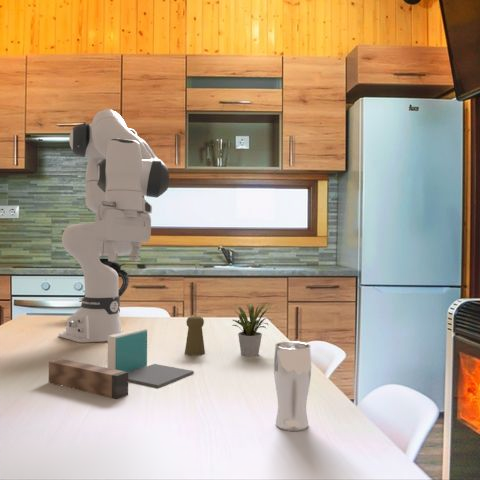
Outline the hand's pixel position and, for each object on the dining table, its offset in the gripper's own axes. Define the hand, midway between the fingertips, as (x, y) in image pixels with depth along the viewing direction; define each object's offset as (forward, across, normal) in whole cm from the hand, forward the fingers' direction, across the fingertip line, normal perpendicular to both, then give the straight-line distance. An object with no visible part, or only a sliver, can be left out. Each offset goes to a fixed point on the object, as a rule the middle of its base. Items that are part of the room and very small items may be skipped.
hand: (123, 260), depth 119 cm
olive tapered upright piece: (+28, +32, -5) cm, 43 cm away
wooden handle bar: (+29, -8, +4) cm, 31 cm away
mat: (+29, +6, -6) cm, 30 cm away
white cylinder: (+26, +75, +56) cm, 98 cm away
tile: (+29, +8, +4) cm, 30 cm away
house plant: (+29, +36, -22) cm, 51 cm away
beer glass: (+31, -13, -44) cm, 56 cm away
